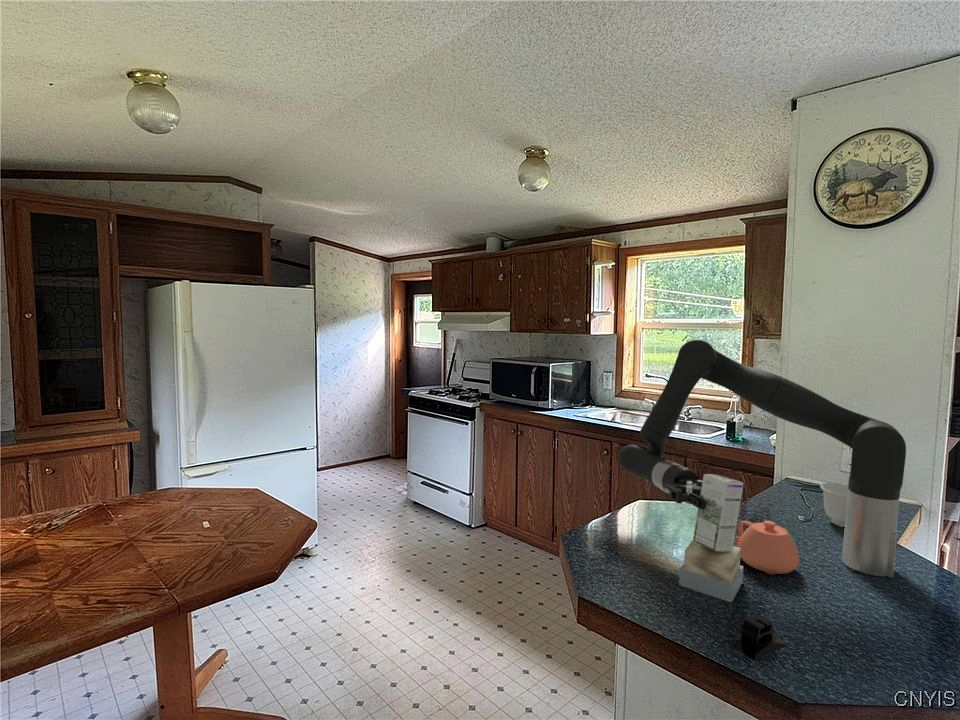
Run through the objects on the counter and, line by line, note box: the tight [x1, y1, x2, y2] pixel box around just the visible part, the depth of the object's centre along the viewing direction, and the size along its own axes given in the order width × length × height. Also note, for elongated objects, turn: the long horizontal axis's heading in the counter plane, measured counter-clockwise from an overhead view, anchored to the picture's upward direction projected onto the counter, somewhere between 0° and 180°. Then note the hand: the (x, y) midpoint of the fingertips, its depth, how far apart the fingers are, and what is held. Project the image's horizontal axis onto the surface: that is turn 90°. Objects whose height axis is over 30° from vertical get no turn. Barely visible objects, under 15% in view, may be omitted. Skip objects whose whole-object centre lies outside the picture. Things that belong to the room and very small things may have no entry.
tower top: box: [683, 539, 741, 583], centre depth 106 cm, size 9×9×4 cm
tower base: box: [678, 563, 744, 603], centre depth 107 cm, size 10×10×4 cm
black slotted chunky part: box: [724, 613, 789, 661], centre depth 87 cm, size 12×7×5 cm, turn 117°
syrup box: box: [692, 473, 744, 552], centre depth 106 cm, size 6×6×14 cm
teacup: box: [819, 482, 848, 528], centre depth 142 cm, size 12×15×10 cm
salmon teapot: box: [734, 520, 800, 576], centre depth 116 cm, size 12×14×10 cm
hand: (721, 503), depth 106 cm, fingers open, 8 cm apart
